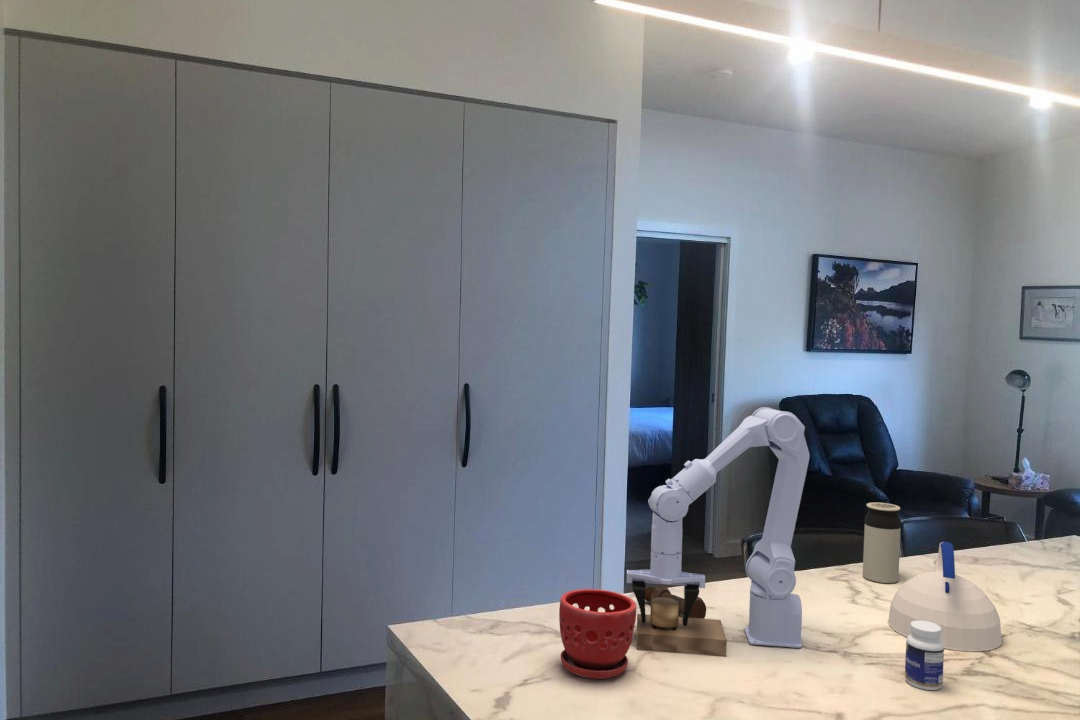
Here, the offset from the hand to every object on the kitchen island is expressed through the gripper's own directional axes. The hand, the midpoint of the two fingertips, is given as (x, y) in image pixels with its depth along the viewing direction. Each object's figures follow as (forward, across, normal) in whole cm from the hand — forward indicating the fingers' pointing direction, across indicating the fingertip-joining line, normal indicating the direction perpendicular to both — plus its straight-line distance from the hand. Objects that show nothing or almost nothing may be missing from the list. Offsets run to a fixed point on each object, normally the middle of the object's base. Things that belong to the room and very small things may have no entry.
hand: (664, 622), depth 144 cm
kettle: (+4, +56, +16) cm, 58 cm away
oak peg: (+4, 0, 0) cm, 4 cm away
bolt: (+4, +2, +16) cm, 17 cm away
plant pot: (+4, -12, -14) cm, 19 cm away
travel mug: (+4, +54, +49) cm, 73 cm away
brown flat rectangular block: (+4, +3, 0) cm, 5 cm away
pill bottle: (+4, +43, -10) cm, 44 cm away
